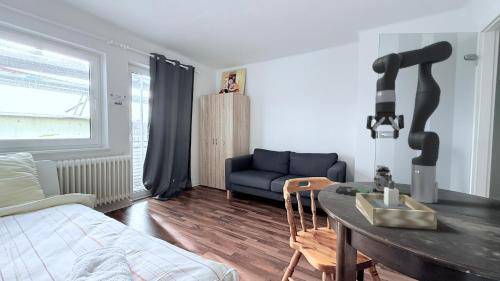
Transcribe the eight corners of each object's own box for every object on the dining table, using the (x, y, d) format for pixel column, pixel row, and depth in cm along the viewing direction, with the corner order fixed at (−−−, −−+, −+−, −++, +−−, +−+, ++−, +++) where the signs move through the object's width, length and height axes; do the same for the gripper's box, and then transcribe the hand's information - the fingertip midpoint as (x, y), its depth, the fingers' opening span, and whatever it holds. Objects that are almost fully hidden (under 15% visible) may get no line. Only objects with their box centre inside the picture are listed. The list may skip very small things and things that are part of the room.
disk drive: (335, 194, 117) (366, 199, 108) (335, 189, 117) (366, 193, 108) (340, 190, 125) (369, 194, 116) (340, 185, 125) (369, 189, 116)
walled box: (405, 208, 93) (405, 195, 93) (436, 229, 73) (437, 212, 73) (355, 206, 97) (356, 193, 96) (372, 225, 77) (373, 208, 77)
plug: (393, 212, 87) (394, 180, 86) (398, 215, 83) (398, 182, 82) (383, 211, 87) (384, 179, 87) (387, 215, 84) (388, 182, 83)
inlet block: (398, 210, 89) (398, 200, 89) (411, 219, 79) (412, 209, 79) (372, 208, 91) (372, 199, 91) (382, 217, 81) (382, 207, 81)
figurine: (370, 194, 115) (370, 166, 115) (374, 189, 124) (375, 163, 123) (390, 197, 109) (391, 167, 109) (393, 192, 118) (394, 165, 118)
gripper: (399, 102, 97) (398, 138, 98) (364, 103, 100) (364, 138, 100) (408, 100, 90) (407, 139, 90) (370, 101, 92) (370, 139, 93)
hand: (384, 138), depth 95 cm, fingers open, 8 cm apart
